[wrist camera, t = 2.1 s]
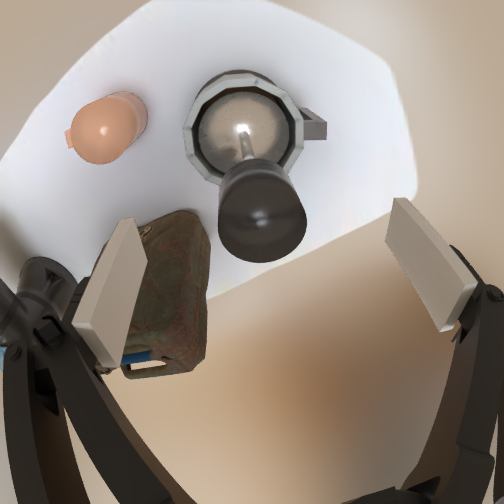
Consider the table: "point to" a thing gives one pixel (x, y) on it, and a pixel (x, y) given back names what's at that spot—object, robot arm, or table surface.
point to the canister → (169, 299)
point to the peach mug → (107, 127)
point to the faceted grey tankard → (298, 119)
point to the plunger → (252, 177)
